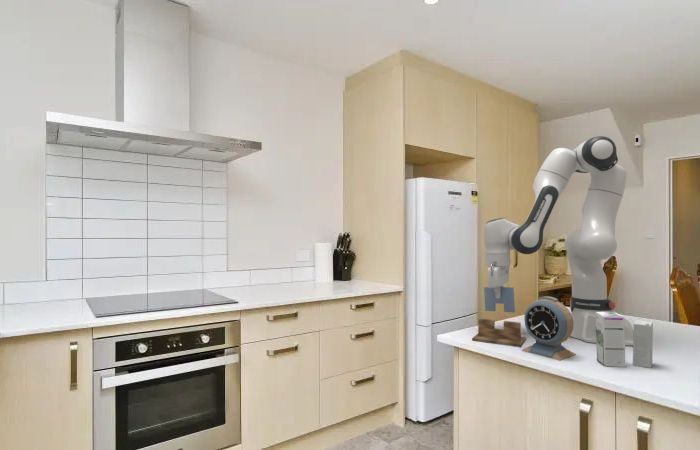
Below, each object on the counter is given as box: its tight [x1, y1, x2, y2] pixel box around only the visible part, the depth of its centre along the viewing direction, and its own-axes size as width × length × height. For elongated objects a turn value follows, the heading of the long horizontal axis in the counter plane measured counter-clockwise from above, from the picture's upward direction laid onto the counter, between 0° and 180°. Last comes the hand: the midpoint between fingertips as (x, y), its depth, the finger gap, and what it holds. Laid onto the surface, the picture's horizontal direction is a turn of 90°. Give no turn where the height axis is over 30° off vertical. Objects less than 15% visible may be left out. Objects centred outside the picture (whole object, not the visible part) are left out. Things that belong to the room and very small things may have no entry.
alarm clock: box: [521, 295, 577, 361], centre depth 130 cm, size 14×10×18 cm
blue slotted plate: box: [483, 286, 516, 313], centre depth 155 cm, size 10×2×9 cm, turn 58°
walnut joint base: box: [471, 317, 527, 348], centre depth 145 cm, size 16×11×7 cm
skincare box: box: [632, 319, 654, 369], centre depth 118 cm, size 6×4×12 cm
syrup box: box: [595, 311, 627, 368], centre depth 119 cm, size 6×6×14 cm
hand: (499, 297), depth 155 cm, fingers closed on blue slotted plate, 2 cm apart
